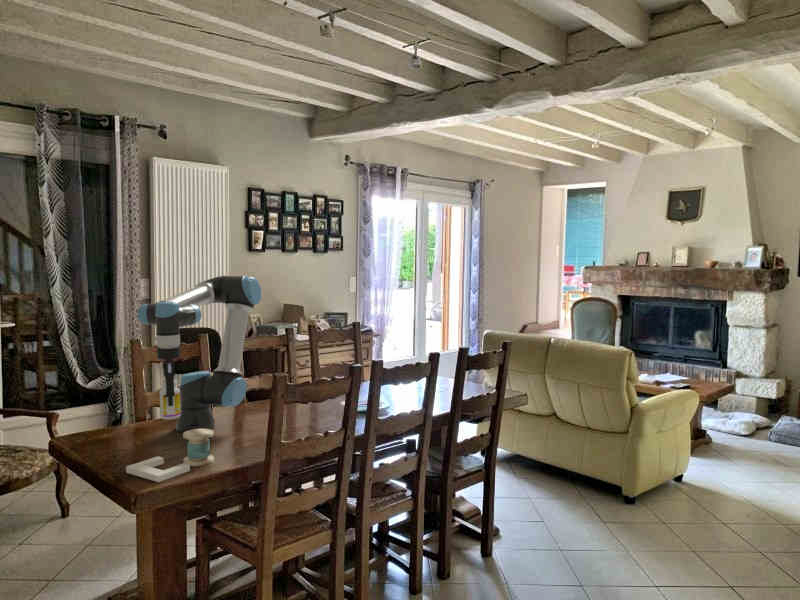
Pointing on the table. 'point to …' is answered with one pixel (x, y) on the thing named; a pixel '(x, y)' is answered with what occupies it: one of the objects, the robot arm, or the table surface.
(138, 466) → the notched board
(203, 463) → the bobbin
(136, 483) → the table surface
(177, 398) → the supplement bottle
